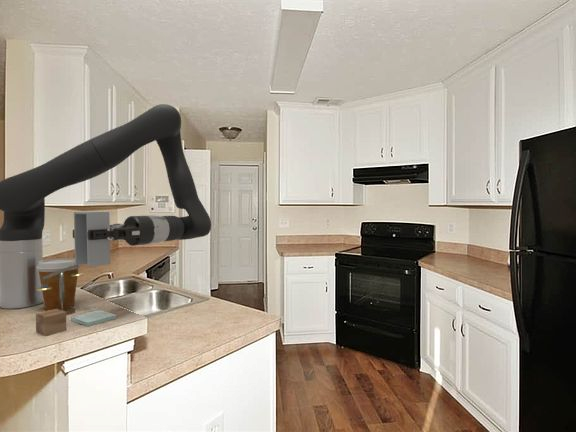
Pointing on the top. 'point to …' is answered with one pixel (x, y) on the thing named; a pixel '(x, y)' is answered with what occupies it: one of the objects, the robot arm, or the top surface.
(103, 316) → the slab
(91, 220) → the cover
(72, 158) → the robot arm
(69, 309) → the balance
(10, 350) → the top surface
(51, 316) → the block
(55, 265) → the disposable coffee cup
